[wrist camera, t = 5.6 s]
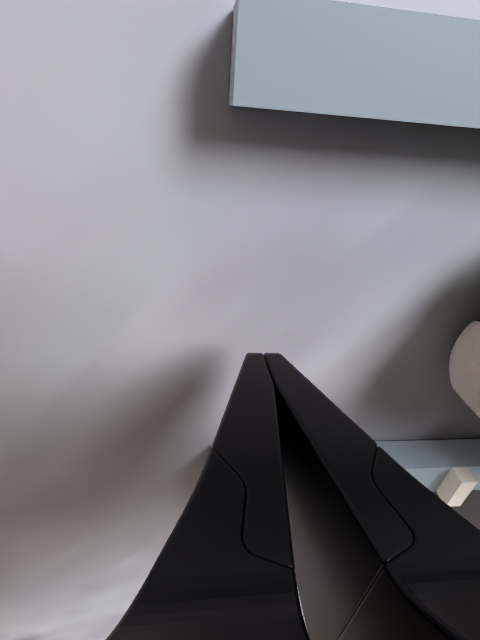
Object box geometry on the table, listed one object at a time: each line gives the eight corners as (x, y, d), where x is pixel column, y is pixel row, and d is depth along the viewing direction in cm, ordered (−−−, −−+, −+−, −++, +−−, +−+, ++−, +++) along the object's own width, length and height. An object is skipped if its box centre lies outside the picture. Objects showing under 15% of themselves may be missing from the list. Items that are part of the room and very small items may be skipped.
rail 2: (675, 434, 15) (730, 472, 13) (651, 456, 16) (700, 494, 14) (211, 445, 12) (212, 492, 11) (209, 470, 13) (210, 518, 12)
